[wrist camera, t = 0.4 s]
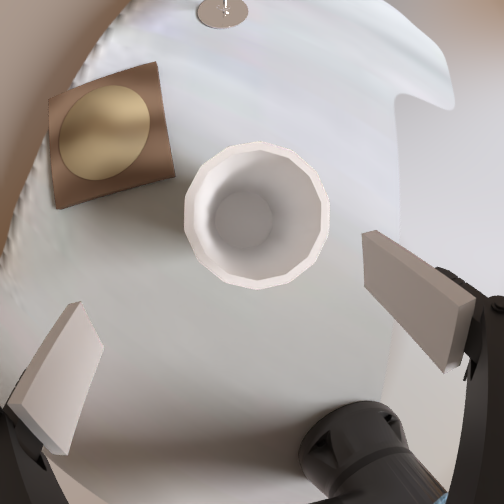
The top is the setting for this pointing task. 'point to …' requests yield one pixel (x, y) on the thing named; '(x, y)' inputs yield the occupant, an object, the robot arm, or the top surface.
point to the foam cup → (256, 215)
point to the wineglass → (222, 13)
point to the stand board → (108, 136)
